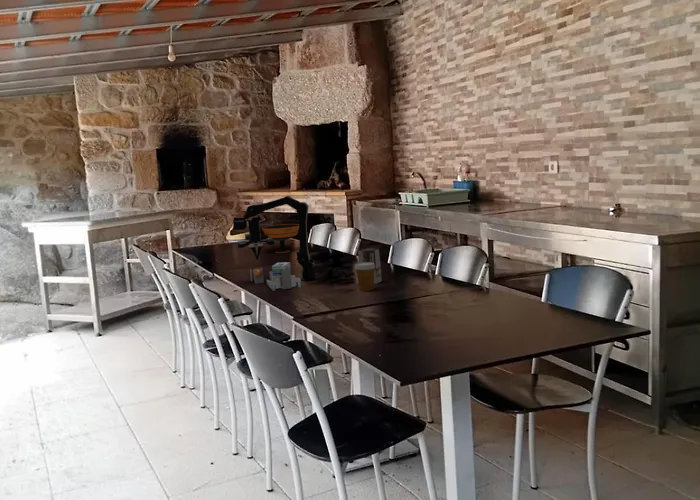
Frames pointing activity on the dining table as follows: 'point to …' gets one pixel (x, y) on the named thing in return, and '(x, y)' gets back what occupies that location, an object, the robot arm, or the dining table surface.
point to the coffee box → (373, 257)
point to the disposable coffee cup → (365, 275)
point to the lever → (258, 272)
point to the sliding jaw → (285, 280)
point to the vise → (261, 280)
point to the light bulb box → (280, 268)
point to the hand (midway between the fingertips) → (257, 259)
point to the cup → (281, 234)
